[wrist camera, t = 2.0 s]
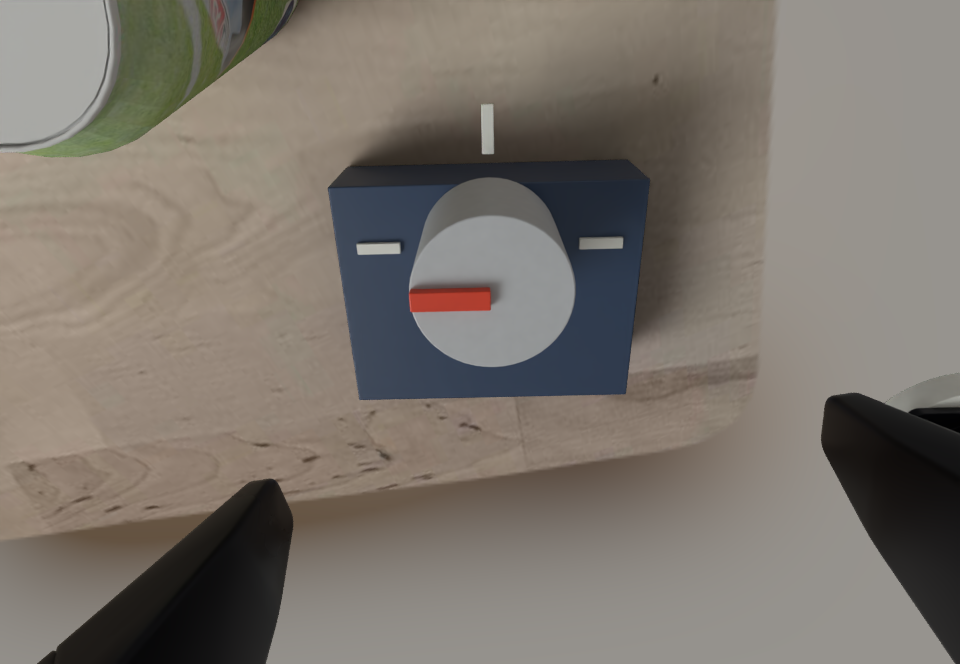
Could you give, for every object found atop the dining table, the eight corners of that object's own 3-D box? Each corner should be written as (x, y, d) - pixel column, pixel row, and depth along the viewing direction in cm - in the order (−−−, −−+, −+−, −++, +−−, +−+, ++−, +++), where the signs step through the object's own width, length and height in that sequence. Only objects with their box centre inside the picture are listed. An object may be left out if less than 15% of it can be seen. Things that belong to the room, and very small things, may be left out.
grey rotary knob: (560, 175, 18) (582, 215, 14) (555, 305, 20) (573, 371, 16) (416, 178, 18) (399, 220, 14) (426, 308, 20) (414, 375, 16)
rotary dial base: (635, 89, 19) (661, 99, 16) (609, 354, 24) (627, 397, 21) (337, 97, 19) (314, 108, 17) (372, 359, 24) (358, 403, 21)
